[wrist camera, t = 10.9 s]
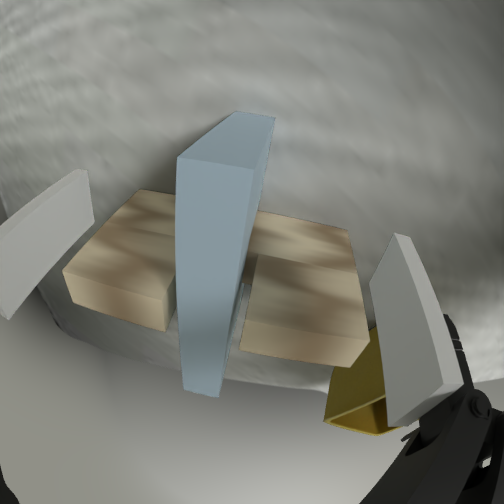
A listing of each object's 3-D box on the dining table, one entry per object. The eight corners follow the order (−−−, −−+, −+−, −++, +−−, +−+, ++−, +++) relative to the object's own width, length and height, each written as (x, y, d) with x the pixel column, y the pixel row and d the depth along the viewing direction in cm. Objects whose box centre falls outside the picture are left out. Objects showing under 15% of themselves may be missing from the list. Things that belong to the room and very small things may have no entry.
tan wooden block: (140, 216, 22) (73, 302, 14) (139, 189, 21) (61, 270, 13) (336, 256, 22) (349, 367, 14) (347, 230, 21) (370, 340, 13)
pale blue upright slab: (235, 111, 17) (176, 157, 9) (275, 117, 17) (254, 169, 9) (214, 293, 26) (183, 389, 18) (241, 299, 26) (218, 398, 18)
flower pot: (320, 345, 29) (320, 423, 22) (385, 300, 24) (404, 386, 17) (371, 370, 31) (376, 437, 24) (429, 334, 26) (448, 405, 19)
